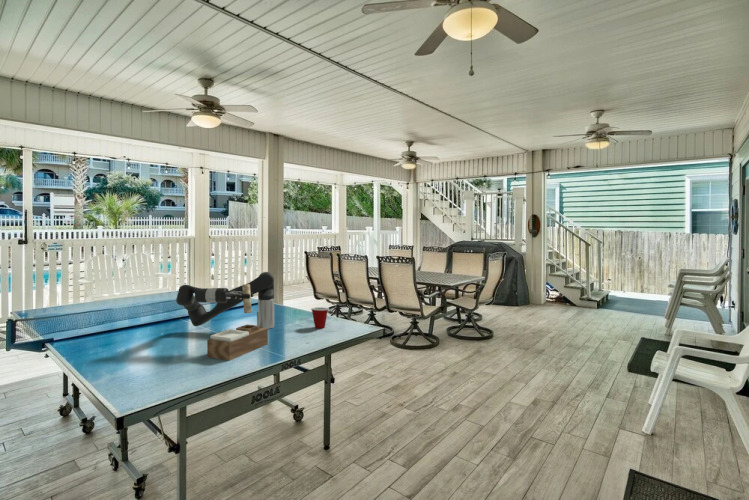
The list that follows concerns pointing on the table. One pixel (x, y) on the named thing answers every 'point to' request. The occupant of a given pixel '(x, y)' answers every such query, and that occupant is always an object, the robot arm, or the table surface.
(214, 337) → the tray
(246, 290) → the dowel
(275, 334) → the table surface
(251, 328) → the wooden block with recesses
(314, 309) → the plastic cup
